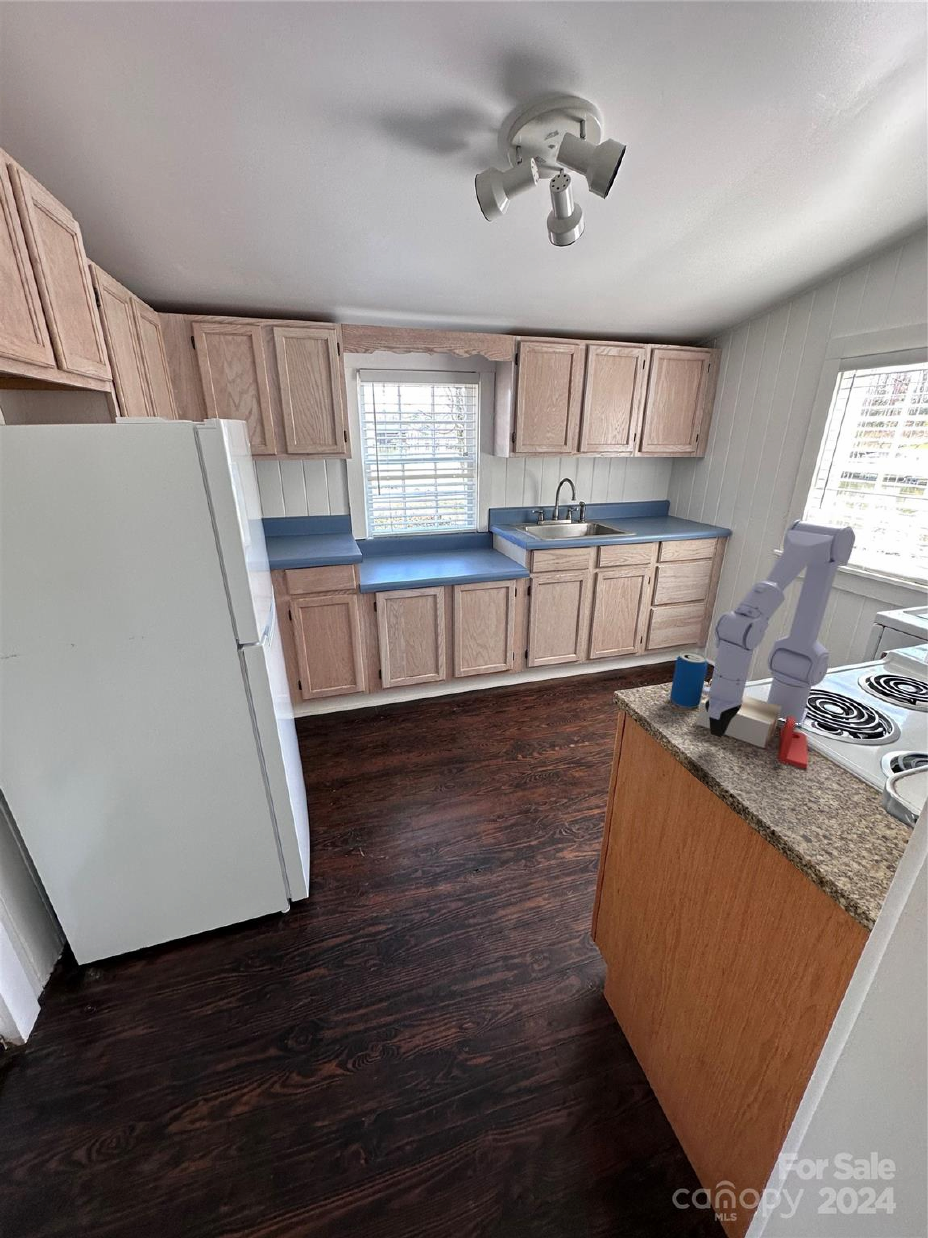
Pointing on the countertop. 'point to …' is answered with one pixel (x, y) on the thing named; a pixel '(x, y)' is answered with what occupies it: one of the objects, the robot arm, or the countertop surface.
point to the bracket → (792, 745)
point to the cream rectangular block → (761, 712)
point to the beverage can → (688, 679)
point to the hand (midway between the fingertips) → (716, 734)
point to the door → (740, 726)
